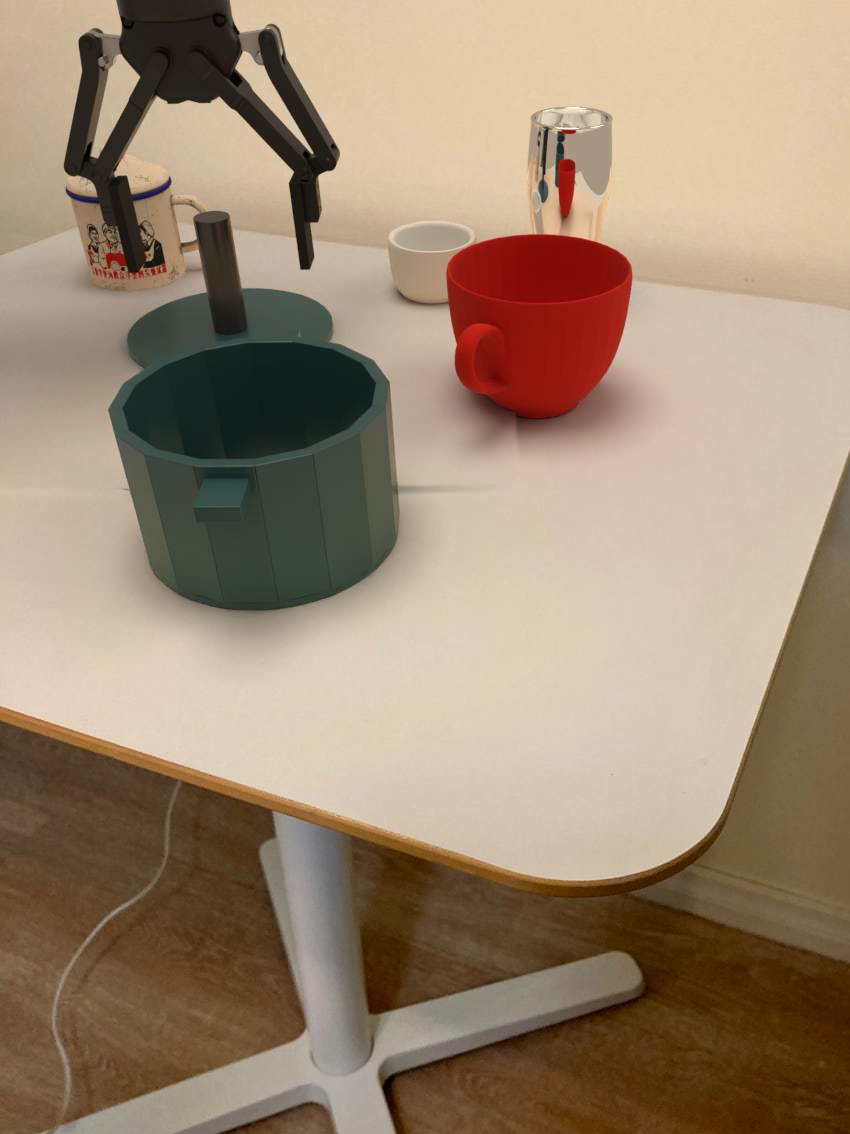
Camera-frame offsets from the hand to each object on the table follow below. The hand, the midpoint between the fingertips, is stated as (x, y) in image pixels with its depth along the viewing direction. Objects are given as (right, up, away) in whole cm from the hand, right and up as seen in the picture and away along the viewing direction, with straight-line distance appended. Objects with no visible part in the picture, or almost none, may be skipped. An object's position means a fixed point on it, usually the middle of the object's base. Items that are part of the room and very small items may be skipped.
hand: (222, 265), depth 83 cm
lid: (0, -4, +4) cm, 6 cm away
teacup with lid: (-10, +4, +15) cm, 19 cm away
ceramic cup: (+24, -13, -5) cm, 27 cm away
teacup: (+16, +2, +12) cm, 20 cm away
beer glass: (+28, 0, +10) cm, 30 cm away
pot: (+8, -23, -17) cm, 30 cm away
